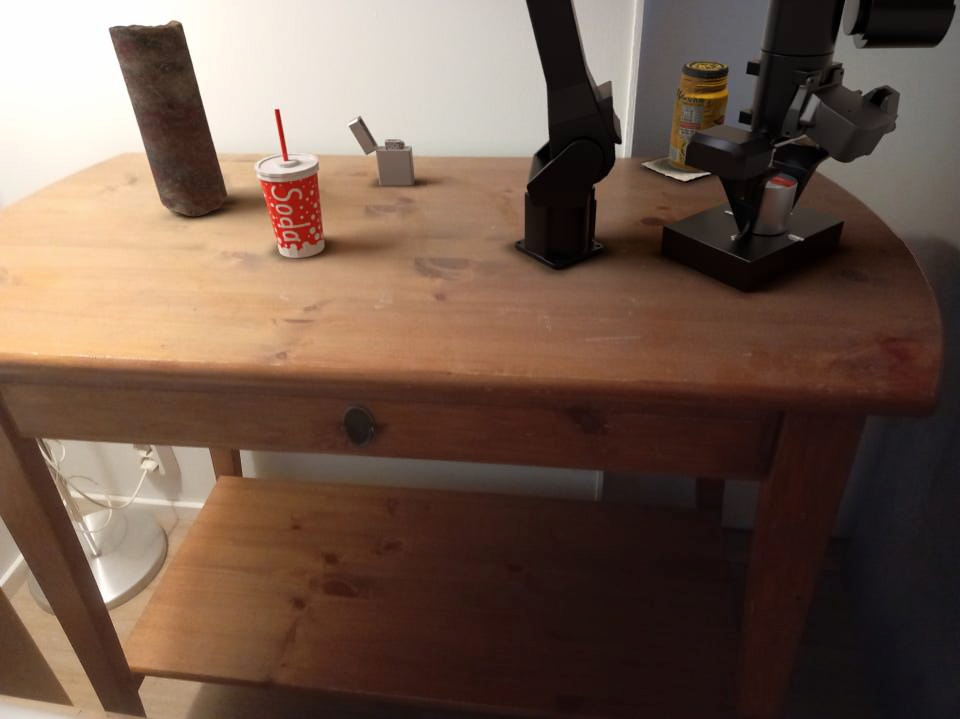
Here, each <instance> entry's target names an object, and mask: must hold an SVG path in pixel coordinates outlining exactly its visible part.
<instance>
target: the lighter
mask: <svg viewBox="0 0 960 719" xmlns="http://www.w3.org/2000/svg"><path fill="white" fill-rule="evenodd" d="M347 126H348V128H349V130H350V131H351V133H352V134H353V136H354V138H355V140H356V141H357V143H358V144H359V146H360V148H361V149H362V151H363V152H364V154H365V155H366V156H369V155H370V154H372V153H374V152H375V156H376V164H377V165H376V166H377V174H378V183H379V186H413V185H414V183H415V182H416V180H415V169H414V166H415V165H414V156H413V155H414V154H413V147H412V145H406V144H405V141H403V140H402V139H401V138H386V139H385V140H384V145H379V144H378V143H377V141H376V140H375V138H374V136H373V135H372V133H371V131H370V129H369V128H368V126H367V124H366V123H365V121H364V119H363V118H362V116H361V115H358V116H356V117H355V118H353V119H350V120H349V122H348V123H347Z"/></svg>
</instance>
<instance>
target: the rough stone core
mask: <svg viewBox="0 0 960 719" xmlns="http://www.w3.org/2000/svg"><path fill="white" fill-rule="evenodd" d="M108 32H109V36H110V39H111V42H112V46H113V49H114V52H115V55H116V58H117V61H118V62H117V63H118V64H119V68H120V72H121V75H122V77H123V81H124V83H125V87H126V90H127V93H128V98H129V100H130V103H131V106H132V111H133V113H134V117H135V120H136V123H137V126H138V129H139V133H140V137H141V140H142V144H143V147H144V150H145V153H146V157H147V161H148V164H149V167H150V171H151V174H152V177H153V178H152V179H153V181H154V184H155V187H156V190H157V193H158V197H159V199H160V203H161V204H162V206H164V207H165V208H166V209H167V210H168V211H169V212H173V213H178V214H181V215H186V216H187V217H200V216H204V215H206V214H209V213H210V212H211V211H214V210H217V209H220V208H221V207H222V205H223V204H224V202H225V200H226V199H227V198H228V192H227V188H226V184H225V179H224V176H223V172H222V169H221V166H220V162H219V158H218V154H217V151H216V146H215V144H214V140H213V137H212V132H211V129H210V125H209V120H208V118H207V114H206V110H205V106H204V102H203V99H202V94H201V91H200V86H199V83H198V80H197V79H198V78H197V76H196V71H195V68H194V64H193V60H192V57H191V52H190V49H189V46H188V41H187V37H186V34H185V30H184V26H183V23H182V22H181V21H178V20H176V19H172V20H170V21H168V23H166V24H159V25H142V24H130V25H115V26H110V27H108Z"/></svg>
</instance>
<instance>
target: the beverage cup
mask: <svg viewBox="0 0 960 719" xmlns="http://www.w3.org/2000/svg"><path fill="white" fill-rule="evenodd" d="M274 116H275V121H276V127H277V133H278V138H279V143H280V148H281V153H277V154H274V155H270V156H266V157H264V158H261V159H259V160H258V161H257V162H256V163H254V172H255V173H256V178H258V179H259V181H260V183H261V188H262V192H263V195H264V199H265V204H266V206H267V211H268V214H269V218H270V222H271V225H272V229H273V233H274V236H275V240H276V243H277V248H278V251H279V253H280V255H282V256H283V257H287V258H290V259H291V258H292V259H302V258H309V257H311V256H315V255H317V254H319V253H321V252H322V251H323V250H324V248H326V246H325V238H324V237H325V236H324V228H323V218H322V207H321V206H322V205H321V196H320V186H319V177H318V172H319V170H320V160H319V157H318V156H316V155H314V154H311V153H306V152H288V148H287V143H286V137H285V132H284V127H283V122H282V116H281V110H280V108H275V109H274Z"/></svg>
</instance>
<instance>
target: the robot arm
mask: <svg viewBox="0 0 960 719" xmlns="http://www.w3.org/2000/svg"><path fill="white" fill-rule="evenodd" d="M525 3H526V8H527V12H528V15H529V19H530V20H529V21H530V24H531V28H532V32H533V36H534V40H535V45H536V49H537V52H538V56H539V60H540V65H541V68H542V73H543V76H544V81H545V83H546V84H545V85H546V86H545V87H546V104H547V105H546V107H547V130H548V140H547V141H546V142H545V143H544V144H543V145H542V146H541V147H540V148H538V150H537V151H535V152H534V153H533V155H532V159H531V164H530V169H529V173H528V177H527V183H526V192H524V238H522V239H519V240H516V241H515V242H514V248H515V249H517V250H518V251H521V252H523V253H524V254H526V255H528V256H529V257H531V258H533V259H535V260H537V261H539V262H541V263H542V264H545V265H547V266H548V267H550V268H552V269H558V268H561V267H564V266H567V265H569V264H572V263H575V262H578V261H581V260H582V259H585V258H588V257H591V256H593V255H596V254H599V253H601V252H604V251H603V250H604V245H603V244H601V243H599V242H597V241H595V240H594V239H595V237H596V222H597V207H598V206H597V204H598V201H597V199H596V186H595V185H597V184H598V183H600V182H601V181H603V180H604V179H605V178H606V177H608V176H609V174H610V172H611V171H612V170H613V168H614V167H615V163H616V158H617V156H616V155H617V154H616V145H619V146H622V144H623V136H622V127H621V119H620V118H619V117H618V115H617V113H616V111H615V108H614V94H613V82H612V80H608V81H605V82H603V83H601V84H599V85H597V83H596V80H595V78H594V76H593V74H592V72H591V70H590V68H589V65H588V61H587V57H586V53H585V49H584V48H585V47H584V44H583V39H582V34H581V29H580V25H579V21H578V16H577V11H576V6H575V1H574V0H525ZM956 10H957V4H956V3H955V0H768V2H767V8H766V14H765V20H764V26H763V31H762V38H761V44H760V50H759V55H758V56H759V57H758V58H756V59H752V60H748V61H747V64H746V70H745V74H746V75H749V76H750V75H751V76H754V77H755V80H754V86H753V92H752V93H753V94H752V98H751V105H750V107H748V108H745V109H742V110H741V109H740V110H739V115H738V121H737V123H738V124H743V125H747V126H749V127H750V128H749V129H750V131H749V130H745V129H742V128H739V127H735V126H731V125H727V124H725V123H724V124H722V125H718V126H715V127H712V128H708V129H705V130H702V131H698V132H696V133H695V134H693V135H692V136H691V137H690V138H689V139H688V140H686V148H685V157H684V165H687V166H690V167H693V168H696V169H699V170H702V171H705V172H708V173H711V174H712V175H715V176H717V177H718V180H719V181H720V183H721V186H722V187H723V190H724V192H725V193H724V194H725V195H726V198H727V202H729V204H730V207H731V210H732V213H733V216H734V218H735V221H736V224H737V227H738V230H739V232H740V233H741V232H742V233H744V234H745V235H749V234H751V232H752V230H753V227H754V224H755V221H756V218H757V215H758V211H759V208H760V204H761V201H762V197H763V194H764V190H765V186H766V184H767V183H768V182H769V181H770V180H772V179H773V178H775V177H776V176H778V175H779V174H780V173H783V174H786V175H789V176H792V177H794V178H795V179H796V180H797V188H796V192H795V197H794V202H793V206H792V210H793V208H794V206H795V205H796V204H797V203H798V201H799V199H800V197H801V196H802V194H803V192H804V191H805V189H806V186H808V183H809V181H810V180H811V178H812V177H813V175H814V173H815V172H816V170H817V169H818V168H819V166H820V164H821V163H823V162H825V161H827V160H828V159H830V158H832V159H834V160H835V161H836V162H839V163H842V164H849V163H853V162H854V161H855V160H856V159H859V158H862V157H864V156H866V157H867V156H870V155H872V154H873V152H874V151H875V149H876V148H877V146H878V145H879V143H880V142H881V140H882V139H883V138H884V136H885V135H887V134H890V133H893V132H894V131H895V130H896V128H897V123H896V121H897V119H898V117H899V114H898V111H899V105H900V98H901V92H899V91H898V90H897V89H895V88H893V87H892V86H890V85H888V84H883V85H880V86H877V87H874V88H873V89H871V90H870V91H868V92H867V93H865V94H863V91H862V90H861V89H856V90H851V89H849V88H848V87H846V86H844V85H843V79H844V75H845V68H843V65H844V64H843V63H844V62H841V61H840V62H839V61H834V55H835V50H836V46H837V41H838V38H839V37H838V36H839V32H840V27H841V23H842V31H843V34H844V36H852V41H853V45H854V46H855V48H856V49H857V50H861V49H862V50H864V49H866V50H869V49H870V50H873V49H874V50H875V49H877V50H878V49H879V50H881V49H935V48H936V47H937V46H939V45H940V44H941V42H943V40H944V39H945V37H946V35H947V34H948V32H949V29H950V27H951V25H952V22H953V20H954V17H955V14H956ZM711 174H710V175H711ZM791 212H792V211H791Z"/></svg>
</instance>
